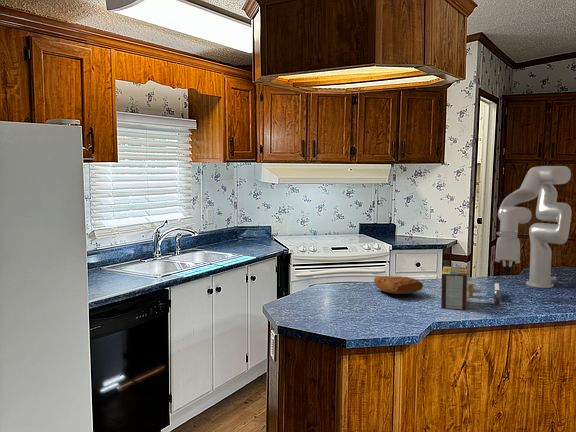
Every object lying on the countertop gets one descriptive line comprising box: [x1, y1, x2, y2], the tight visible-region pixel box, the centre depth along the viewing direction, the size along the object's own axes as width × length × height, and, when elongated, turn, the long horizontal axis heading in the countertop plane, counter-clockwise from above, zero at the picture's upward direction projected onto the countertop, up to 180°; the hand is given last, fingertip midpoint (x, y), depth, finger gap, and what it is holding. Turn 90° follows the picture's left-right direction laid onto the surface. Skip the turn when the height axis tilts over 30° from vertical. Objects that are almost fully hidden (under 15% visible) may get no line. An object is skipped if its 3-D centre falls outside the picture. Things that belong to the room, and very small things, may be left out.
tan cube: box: [467, 281, 475, 292], centre depth 251 cm, size 4×4×4 cm
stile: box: [467, 283, 474, 298], centre depth 241 cm, size 3×3×6 cm
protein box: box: [440, 266, 468, 311], centre depth 227 cm, size 10×15×16 cm
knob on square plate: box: [488, 289, 506, 307], centre depth 228 cm, size 5×5×6 cm
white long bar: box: [494, 282, 500, 290], centre depth 237 cm, size 14×2×5 cm, turn 159°
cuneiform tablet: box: [373, 275, 424, 295], centre depth 247 cm, size 22×17×8 cm
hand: (506, 274), depth 236 cm, fingers closed
